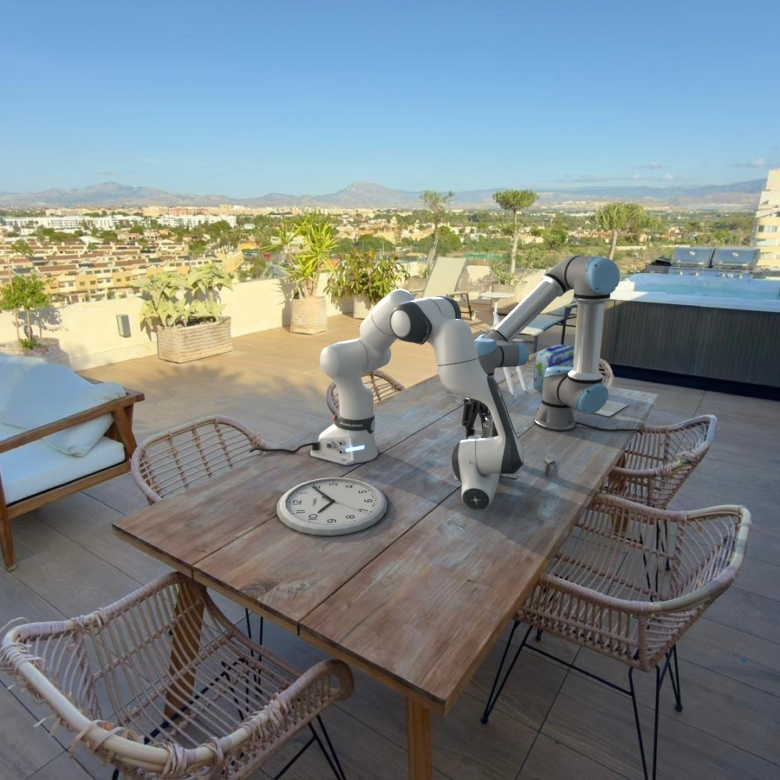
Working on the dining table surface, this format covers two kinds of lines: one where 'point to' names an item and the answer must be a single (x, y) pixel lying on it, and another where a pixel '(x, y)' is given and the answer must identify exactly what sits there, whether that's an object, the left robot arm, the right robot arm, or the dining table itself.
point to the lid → (474, 436)
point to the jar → (489, 428)
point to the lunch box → (551, 362)
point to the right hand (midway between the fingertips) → (476, 450)
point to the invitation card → (611, 408)
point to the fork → (548, 462)
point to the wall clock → (331, 506)
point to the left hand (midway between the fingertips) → (490, 454)
